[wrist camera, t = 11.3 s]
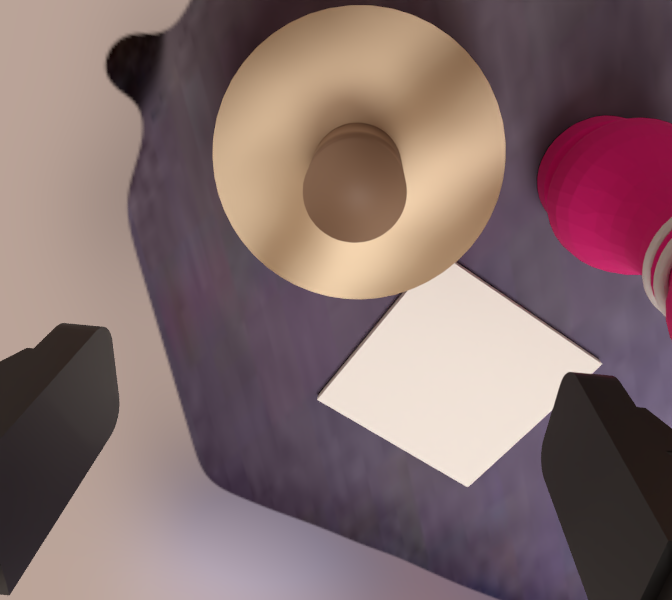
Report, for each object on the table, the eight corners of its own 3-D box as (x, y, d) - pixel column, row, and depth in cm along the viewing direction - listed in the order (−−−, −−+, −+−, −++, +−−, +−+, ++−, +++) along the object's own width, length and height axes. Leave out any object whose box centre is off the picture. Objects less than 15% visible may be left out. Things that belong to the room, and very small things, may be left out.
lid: (564, 127, 25) (604, 150, 21) (387, 336, 30) (389, 389, 26) (317, -68, 22) (303, -89, 18) (168, 198, 27) (131, 231, 23)
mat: (599, 359, 36) (602, 364, 36) (466, 482, 41) (467, 487, 41) (438, 249, 34) (439, 252, 33) (317, 395, 39) (317, 399, 38)
